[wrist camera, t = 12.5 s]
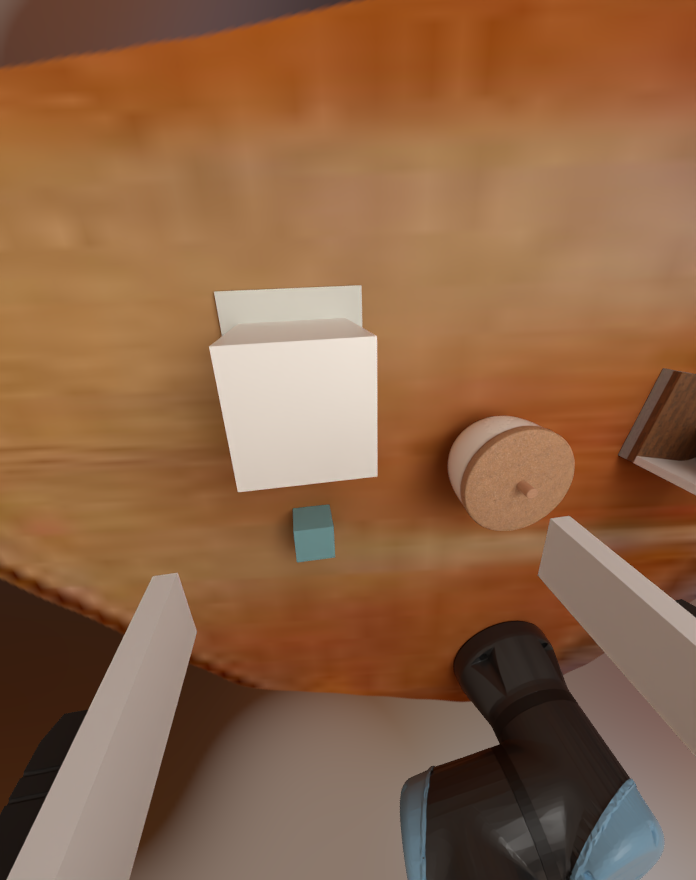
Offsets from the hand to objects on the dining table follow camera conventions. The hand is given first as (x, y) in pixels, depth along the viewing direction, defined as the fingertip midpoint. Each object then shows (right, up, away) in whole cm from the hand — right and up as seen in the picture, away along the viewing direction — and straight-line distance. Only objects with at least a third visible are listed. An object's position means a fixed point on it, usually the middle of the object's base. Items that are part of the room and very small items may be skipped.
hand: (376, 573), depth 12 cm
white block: (-6, +11, +19) cm, 23 cm away
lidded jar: (+13, +4, +26) cm, 30 cm away
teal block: (-5, -4, +27) cm, 28 cm away
